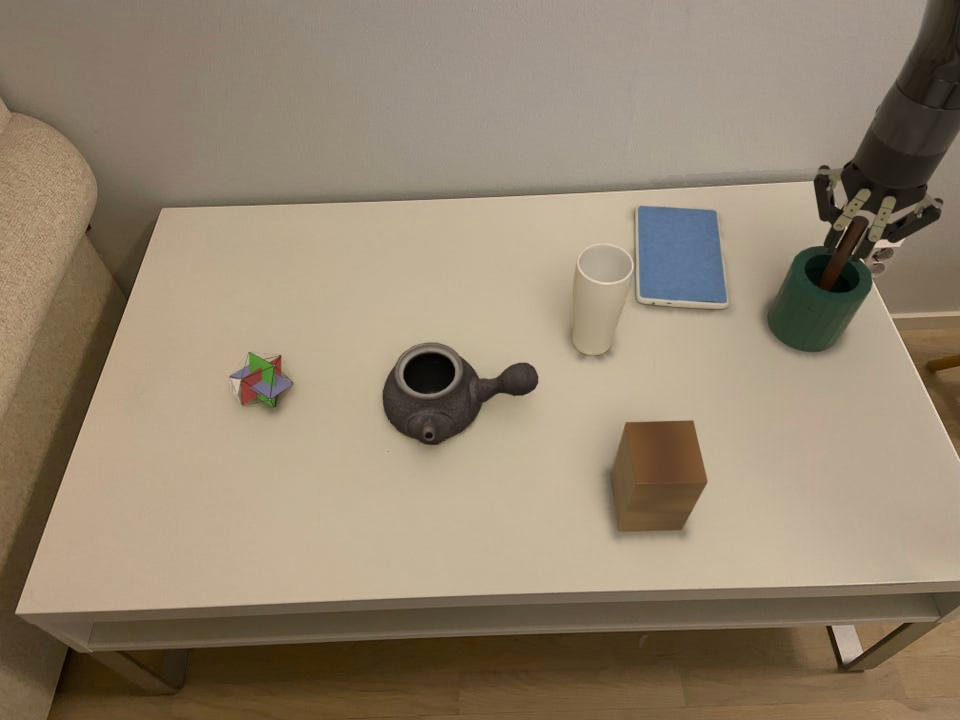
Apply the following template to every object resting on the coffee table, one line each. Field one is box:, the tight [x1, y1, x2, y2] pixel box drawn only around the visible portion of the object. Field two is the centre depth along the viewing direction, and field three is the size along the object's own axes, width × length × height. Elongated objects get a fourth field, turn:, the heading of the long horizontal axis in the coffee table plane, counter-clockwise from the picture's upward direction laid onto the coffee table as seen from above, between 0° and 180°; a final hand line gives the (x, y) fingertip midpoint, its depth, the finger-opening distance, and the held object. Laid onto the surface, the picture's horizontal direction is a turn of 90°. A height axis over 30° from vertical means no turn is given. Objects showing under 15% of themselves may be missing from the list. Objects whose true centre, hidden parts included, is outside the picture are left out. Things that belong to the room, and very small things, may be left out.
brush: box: [816, 215, 870, 292], centre depth 86 cm, size 4×4×18 cm
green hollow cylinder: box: [767, 245, 874, 353], centre depth 90 cm, size 9×9×10 cm
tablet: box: [634, 204, 730, 310], centre depth 101 cm, size 19×13×1 cm, turn 173°
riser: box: [610, 419, 709, 533], centre depth 75 cm, size 7×7×12 cm
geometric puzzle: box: [228, 350, 295, 409], centre depth 87 cm, size 7×7×8 cm
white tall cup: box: [571, 242, 635, 356], centre depth 87 cm, size 7×7×15 cm
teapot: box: [381, 341, 539, 446], centre depth 83 cm, size 19×15×10 cm
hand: (843, 252), depth 83 cm, fingers closed
